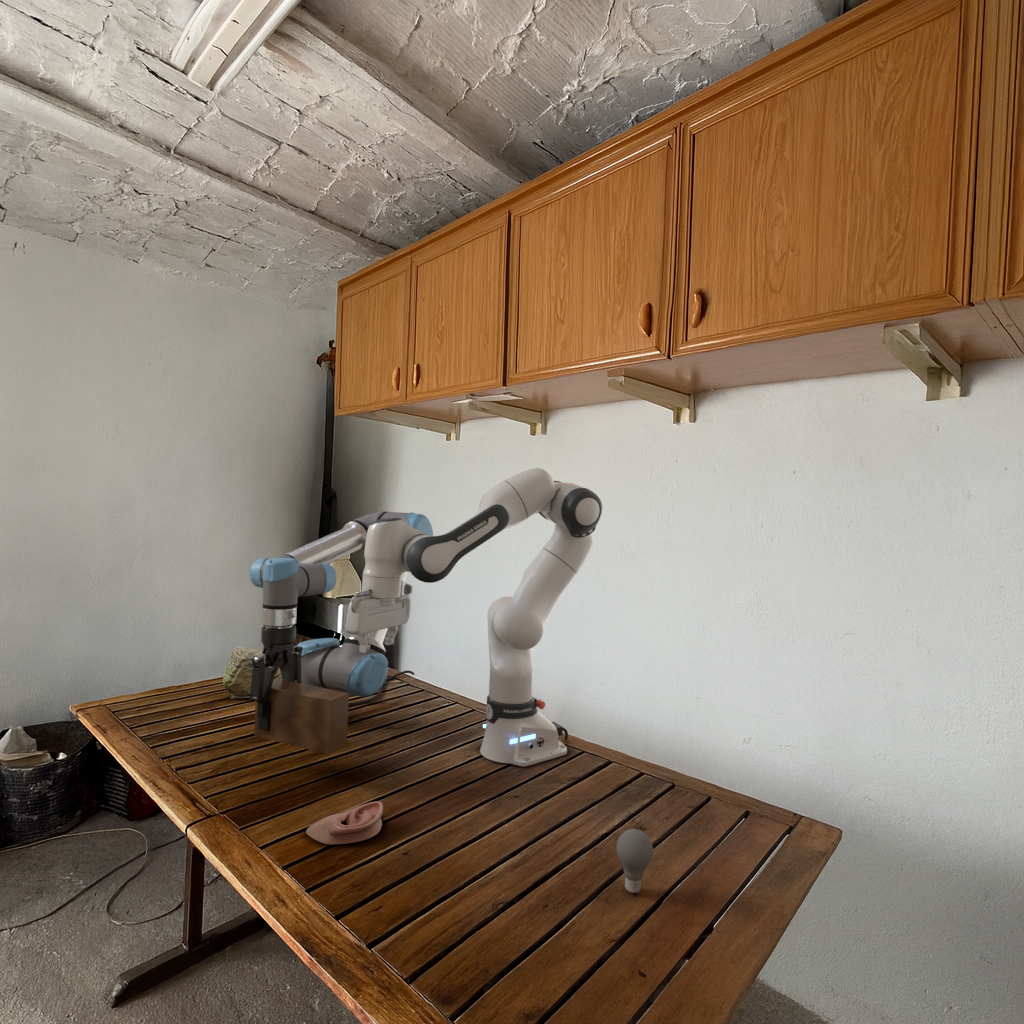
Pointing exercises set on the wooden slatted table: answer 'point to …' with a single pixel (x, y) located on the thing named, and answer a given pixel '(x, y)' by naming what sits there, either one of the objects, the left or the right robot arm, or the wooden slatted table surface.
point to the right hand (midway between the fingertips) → (377, 648)
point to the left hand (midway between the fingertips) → (275, 724)
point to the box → (306, 716)
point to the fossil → (241, 672)
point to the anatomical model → (348, 825)
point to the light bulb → (634, 857)
